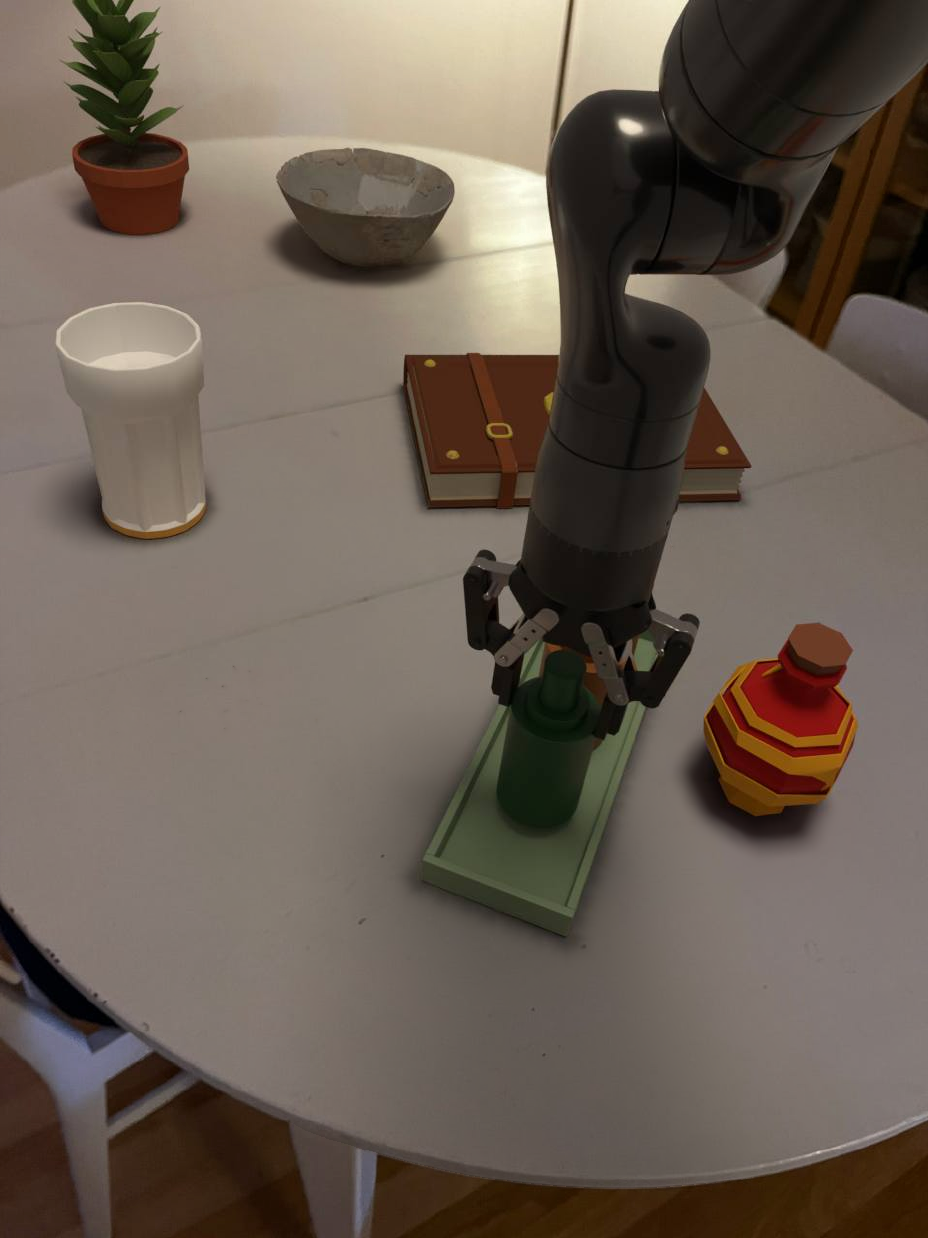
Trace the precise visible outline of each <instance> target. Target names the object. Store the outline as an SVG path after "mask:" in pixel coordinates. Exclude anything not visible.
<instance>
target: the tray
mask: <svg viewBox="0 0 928 1238" xmlns="http://www.w3.org/2000/svg"><path fill="white" fill-rule="evenodd" d="M542 639H543V637H542V638H541V639H540V640H539V641H538V642H537V643H536V644H535V645H534V646H533V647H532V648H531V649H530V650H529V651H528V652H527V653H525V654H524V660H523V665H522V671H521V676H520V682H519V686H520V685H522V684H523V683H524V682H526V681H528V680H530V679H532V678H535V677H538V675H539V670H540V665H541V660H542V655H543V650H544V645H545V642H543V641H542ZM653 642H654V636H653V634H652V633H651V632H650V631H648V630H647V631H645V632H644V633H642V634H640V636H639V640H638V643H637V647H636V650H635V654H634V660H635V664H636V667H637V671H649V670H650V669H651V667H652V665H653V663H654V661H655V660H656V658H657V656H658V655H657V653H656V652H657V650H656V649H655V648H654V646H653ZM519 686H518V687H519ZM510 706H511V704H510ZM510 706H509V707H506V706H503V705H500V704H498V707H497V709H496V711H495V713H494V715H493V717H492V719H491V720H490V723H489V725H488V727H487V729H486V730H485V733H484V735H483V737H482V738H481V741H480V743H479V745H478V747H477V749H476V751H475V753H474V755H473V757H472V759H471V761H470V763H469V765H468V767H467V769H466V771H465V773H464V775H463V777H462V779H461V781H460V783H459V785H458V787H457V789H456V791H455V794H454V796H453V797H452V799H451V802H450V804H449V806H448V808H447V810H446V812H445V814H444V816H443V818H442V819H441V821H440V823H439V826H438V827H437V830H436V832H435V834H434V836H433V838H432V840H431V842H430V844H429V846H428V847H427V850H426V852H425V854H424V856H423V858H422V862H421V863H422V864H421V873H420V881H422V882H425V883H428V884H430V885H432V886H435V887H438V888H440V889H443V890H446V891H448V892H451V893H453V894H456V895H458V896H460V897H463V898H466V899H468V900H471V901H473V902H476V903H479V904H481V905H484V906H486V907H489V908H492V909H494V910H497V911H499V912H501V913H504V914H507V915H509V916H512V917H515V918H517V919H520V920H522V921H525V922H528V923H529V924H532V925H535V926H538V927H540V928H543V929H545V930H547V931H551V932H552V933H555V934H558V935H560V936H563V937H568V935H569V932H570V930H571V927H572V923H573V920H574V917H575V914H576V912H577V909H578V906H579V903H580V900H581V898H582V894H583V892H584V889H585V886H586V883H587V880H588V877H589V874H590V872H591V869H592V866H593V863H594V859H595V857H596V854H597V851H598V848H599V846H600V842H601V840H602V836H603V834H604V831H605V828H606V825H607V823H608V820H609V817H610V814H611V810H612V808H613V804H614V802H615V799H616V796H617V795H618V794H617V793H618V791H619V788H620V785H621V781H622V779H623V776H624V773H625V770H626V767H627V764H628V761H629V760H630V759H629V758H630V756H631V753H632V750H633V747H634V744H635V741H636V739H637V735H638V732H639V731H640V727H641V724H642V722H643V719H644V715H645V713H646V709H647V707H645V706H643V705H642V704H641V702H640V701H633V702H630V703H628V706H627V709H626V713H625V716H624V719H623V722H622V724H621V727H620V730H619V732H618V733H617V734H616V735H615V736H613V735H610V734H607V735H606V738H605V740H603V741H602V743H601V744H600V745H599V746H598V747H597V748H596V749H595V750H593V751H592V755H591V758H590V762H589V766H588V770H587V773H586V777H585V781H584V785H583V789H582V792H581V796H580V800H579V804H578V807H577V809H576V811H575V813H574V814H573V816H572V817H571V818H570V819H568V820H567V821H566V822H564V823H562V824H560V825H558V826H554V827H550V828H535V827H530V826H526V825H524V824H521V823H519V822H517V821H516V820H514V819H513V818H511V817H510V816H509V815H508V814H507V813H506V812H505V811H504V810H503V808H502V807H501V805H500V803H499V801H498V798H497V792H496V791H497V782H498V776H499V770H500V764H501V759H502V753H503V747H504V741H505V735H506V729H507V723H508V718H509V712H510Z"/></svg>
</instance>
